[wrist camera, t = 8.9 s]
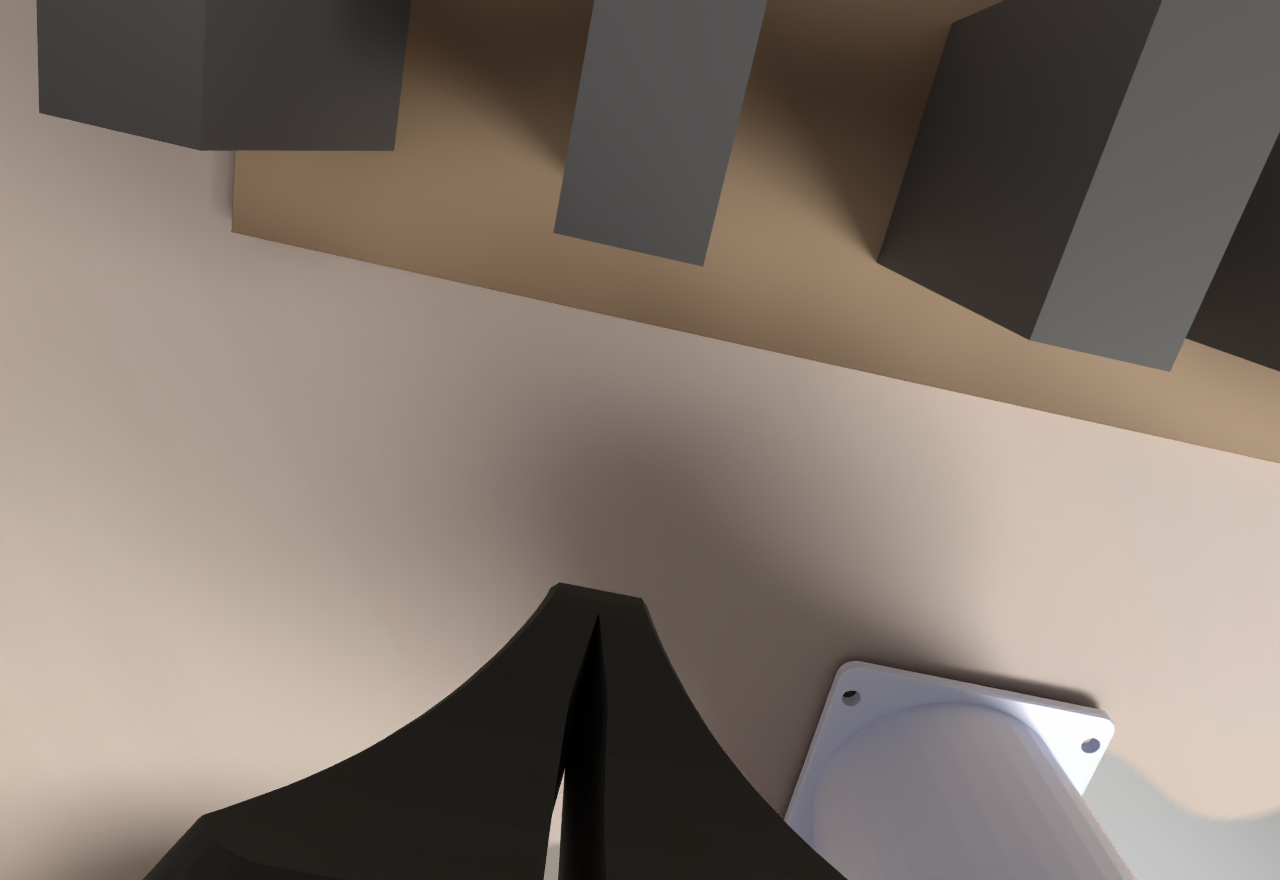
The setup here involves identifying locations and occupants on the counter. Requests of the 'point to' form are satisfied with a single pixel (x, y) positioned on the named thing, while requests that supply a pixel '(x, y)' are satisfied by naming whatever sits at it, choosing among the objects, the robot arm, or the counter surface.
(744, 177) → the board
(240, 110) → the domino
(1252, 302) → the domino
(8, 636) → the counter surface
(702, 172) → the domino
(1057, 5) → the domino
